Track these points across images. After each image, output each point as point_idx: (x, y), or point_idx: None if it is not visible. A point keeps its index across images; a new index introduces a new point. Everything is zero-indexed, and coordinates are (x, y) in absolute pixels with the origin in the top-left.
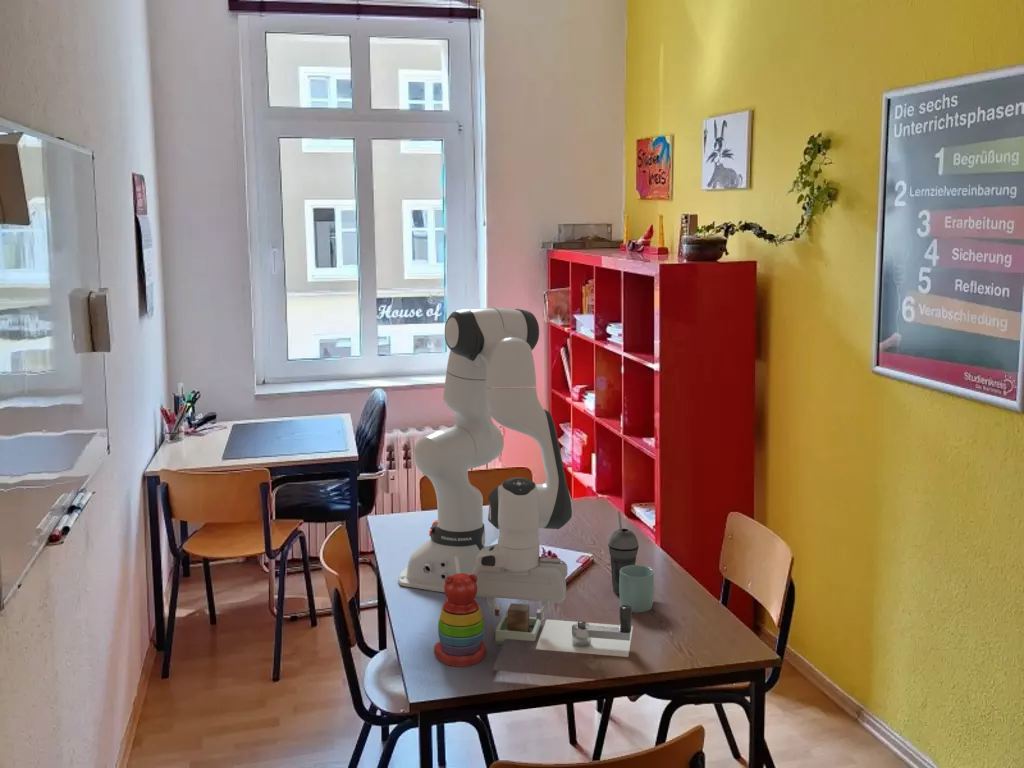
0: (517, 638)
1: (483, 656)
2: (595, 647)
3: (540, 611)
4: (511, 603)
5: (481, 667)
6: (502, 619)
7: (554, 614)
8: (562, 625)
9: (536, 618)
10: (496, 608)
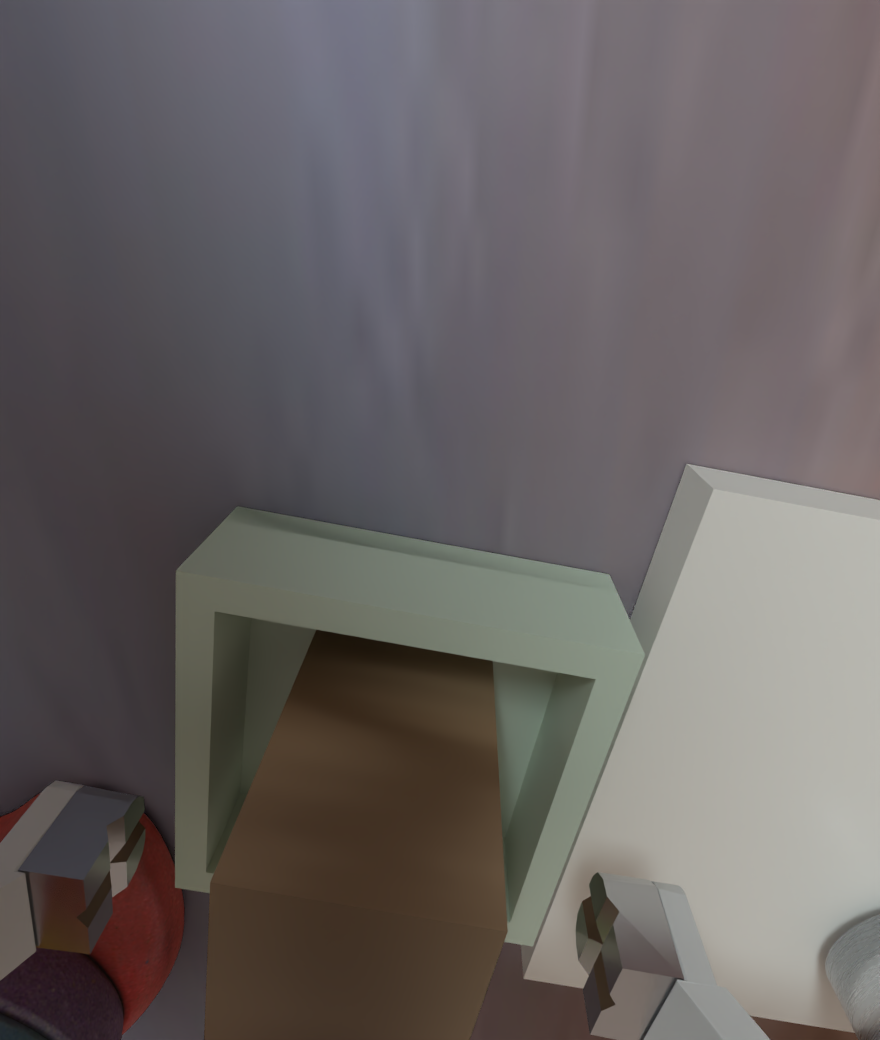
0: None
1: (177, 950)
2: None
3: (650, 1017)
4: (218, 889)
5: (196, 1005)
6: (192, 680)
7: (871, 98)
8: (856, 639)
9: (577, 947)
10: (40, 929)
